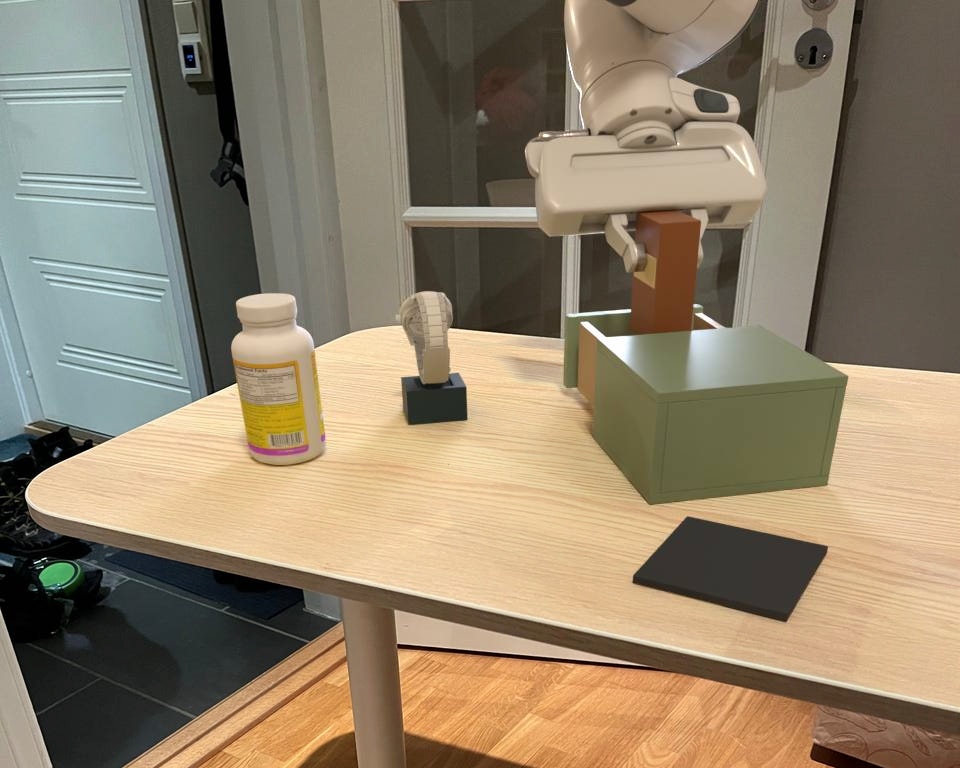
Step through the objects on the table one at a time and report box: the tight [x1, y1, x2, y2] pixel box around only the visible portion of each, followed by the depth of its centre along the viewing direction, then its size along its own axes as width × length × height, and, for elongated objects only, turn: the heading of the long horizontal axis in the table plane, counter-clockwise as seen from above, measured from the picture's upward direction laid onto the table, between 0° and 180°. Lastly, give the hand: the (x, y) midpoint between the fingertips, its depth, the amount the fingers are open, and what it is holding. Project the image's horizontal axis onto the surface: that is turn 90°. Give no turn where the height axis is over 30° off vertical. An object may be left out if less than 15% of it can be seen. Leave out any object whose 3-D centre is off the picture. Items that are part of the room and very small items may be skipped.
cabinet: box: [592, 324, 849, 505], centre depth 75 cm, size 15×15×9 cm
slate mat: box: [632, 515, 829, 622], centre depth 62 cm, size 10×10×1 cm
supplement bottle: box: [230, 292, 327, 466], centre depth 77 cm, size 7×7×13 cm
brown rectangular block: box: [630, 210, 701, 335], centre depth 81 cm, size 6×4×10 cm, turn 11°
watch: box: [395, 290, 468, 426], centre depth 85 cm, size 6×8×11 cm
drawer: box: [562, 303, 726, 408], centre depth 87 cm, size 18×13×7 cm
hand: (665, 266), depth 80 cm, fingers closed on brown rectangular block, 4 cm apart
